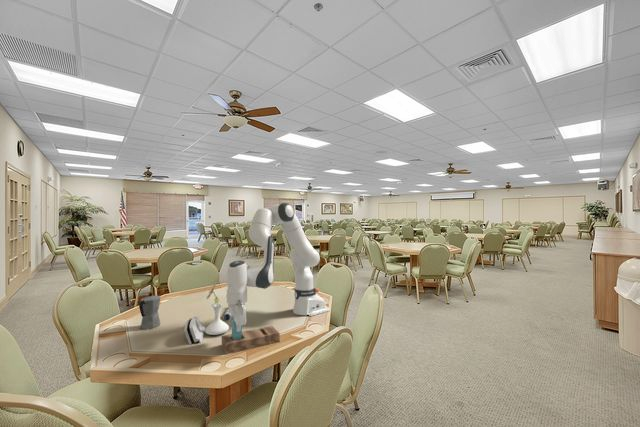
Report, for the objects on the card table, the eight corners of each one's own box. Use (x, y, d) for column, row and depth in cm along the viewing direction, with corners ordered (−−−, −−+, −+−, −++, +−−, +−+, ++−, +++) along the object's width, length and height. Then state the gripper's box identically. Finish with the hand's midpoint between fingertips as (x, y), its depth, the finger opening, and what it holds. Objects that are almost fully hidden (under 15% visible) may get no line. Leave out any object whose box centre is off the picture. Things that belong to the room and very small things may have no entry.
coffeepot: (149, 321, 155) (149, 289, 155) (166, 321, 155) (166, 289, 155) (130, 333, 139) (130, 297, 140) (149, 333, 139) (149, 297, 140)
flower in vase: (210, 328, 145) (210, 280, 146) (232, 328, 145) (232, 280, 145) (199, 338, 132) (199, 286, 133) (222, 338, 132) (222, 286, 132)
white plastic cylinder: (221, 314, 156) (231, 295, 181) (222, 325, 157) (232, 305, 181) (231, 313, 156) (240, 295, 181) (231, 324, 157) (240, 305, 182)
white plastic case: (200, 343, 127) (192, 323, 127) (190, 348, 126) (182, 328, 125) (206, 329, 143) (199, 311, 143) (196, 333, 142) (189, 315, 142)
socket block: (272, 334, 137) (272, 325, 137) (279, 341, 128) (279, 333, 128) (221, 344, 125) (221, 336, 125) (225, 354, 117) (225, 344, 117)
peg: (240, 335, 126) (240, 313, 127) (241, 338, 123) (241, 316, 123) (231, 337, 125) (231, 315, 125) (233, 340, 121) (233, 317, 122)
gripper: (250, 302, 117) (250, 336, 116) (239, 291, 135) (239, 320, 134) (234, 305, 114) (234, 339, 113) (225, 293, 132) (225, 322, 131)
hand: (237, 328), depth 124 cm, fingers closed on peg, 4 cm apart
